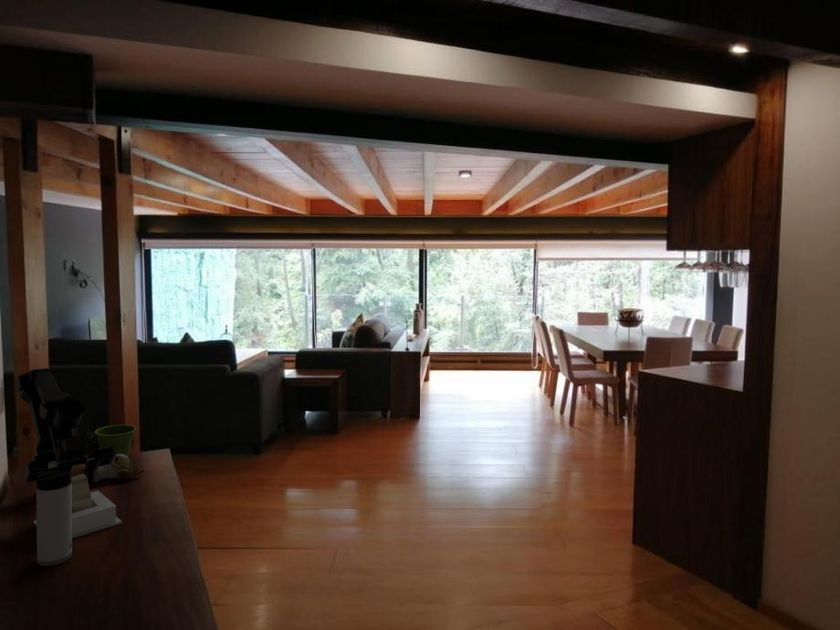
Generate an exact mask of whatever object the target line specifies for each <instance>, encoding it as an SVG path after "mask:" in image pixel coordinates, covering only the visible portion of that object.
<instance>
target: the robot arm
mask: <svg viewBox="0 0 840 630" xmlns="http://www.w3.org/2000/svg"><path fill="white" fill-rule="evenodd" d="M15 390H16V391H17V392H19V396H20V399H21V400H22V401H24V402H26V403H27V404H29V409H30V413H31V419H32V422H33V426H34V427H33V428H34V431H35V435H36V439H37V446H36V447H35V451H34V453H33V454H34V455H33V457H32V459H31V461H29V462H28V463H27V464H26V467H25V470H24V475H23V476H24V480H25V483H31V482H37V475H38V474H39V473H41V472H43V471H45V470H47V469H50V468H54V467H60V466H64V465H70V466H72V467H76V466H80V465H81V466H82V465H84V466H85V468H84V470H83V473H84V474H85V476H86V477H87V479H88V484H89V489H90V492H91V491H92V488H93V483H94V482H93V475H94V471H95V470H97V468H98V467H100V466H105V465H109V464H111V462H112V460H113V458H114V457H115V455H116V452H115V449H114V448H113V447H112V446H108V447H103V448H100V447H98V448H96V449H95V451H94V453H93V454H88V455H84V454H87V451H88V450H87V449H88V448H89V446H91V445H94V444H96V442H97V439H96V438H97V437H96V434H95V430H93V431H92V430H91V431H86V432H85V433H83V435H81V434H79V433H78V432H79V431H78V429H77V427H78V426H79V425H80V423H81V420H82V417H83V416H84V412H85V408H86V407H85V405H84V404H83V403H82V402H81V401H80V400H77V399H74V397H73V396H71V394H70V393H68V392H64V391H61V389H60V387H59V385H58V383H57V381H56V380H55V378H54V372H53V370H52V368H48V367H47V368H46V367H45V368H44V367H43V368H34V369H31V370H29V371H28V372H26V373H23V374H20V375H19V376H18V377H17V378H16V379H15ZM36 492H37V490H36V491H35V493H36Z"/></svg>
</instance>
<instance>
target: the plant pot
mask: <svg viewBox="0 0 840 630" xmlns="http://www.w3.org/2000/svg"><path fill="white" fill-rule="evenodd" d="M136 430H137V426H135V425H131V424H116V425H115V424H114V425H107V426H103V427H99V428H97V429H96V430H94V434H95V435H96V436H97V437H96V438H97V441H98V445H99V448H103V447H108V446H112V447H113V448H114V449H115V452H116V454H124V455H126V456H127V457H128V458H129V456H130V452H131V449H132V448H131V447H132V442H133V438H134V435H135V431H136ZM129 459H130V458H129Z"/></svg>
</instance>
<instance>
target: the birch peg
mask: <svg viewBox="0 0 840 630" xmlns="http://www.w3.org/2000/svg"><path fill="white" fill-rule="evenodd" d="M71 482H72V513H74V512H78V511H81V510H85V509H89V508H92V507H93V504H92V499H91V494H90V493H91V491H90V489H89V484H88V479H87V477H86V476H85V474H84V472H82V473H80V474H77V475H74V476H71Z"/></svg>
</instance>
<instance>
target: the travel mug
mask: <svg viewBox="0 0 840 630" xmlns="http://www.w3.org/2000/svg"><path fill="white" fill-rule="evenodd" d="M72 469H73V466H70V465H64V466H60V467H54V468H50V469H47V470H45V471H43V472H41V473H39V474H38V475H37V481H36V491H37V492H36V491H35V500H36V520H37V527H36V562H37V563H36V564H38V566H40V567H53V566H56V565H61V564H63V563H64V562H66V561H68V560H69V559H70V558H72V555H73V538H72V482H71V477H72Z"/></svg>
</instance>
